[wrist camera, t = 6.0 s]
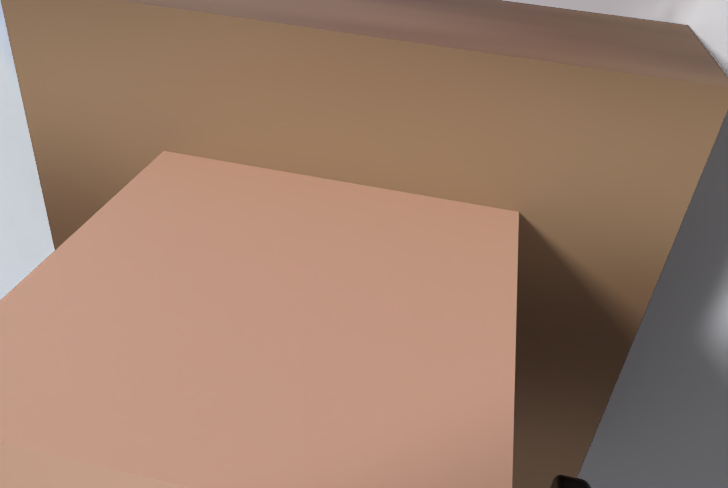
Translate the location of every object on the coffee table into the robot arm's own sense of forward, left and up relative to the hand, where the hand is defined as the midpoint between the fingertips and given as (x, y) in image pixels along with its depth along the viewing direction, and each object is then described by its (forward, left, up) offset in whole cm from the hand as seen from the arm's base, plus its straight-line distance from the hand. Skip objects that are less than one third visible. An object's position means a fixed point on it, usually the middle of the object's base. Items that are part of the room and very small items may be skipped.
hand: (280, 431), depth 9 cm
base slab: (0, 0, -6) cm, 6 cm away
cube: (0, 0, -2) cm, 3 cm away
